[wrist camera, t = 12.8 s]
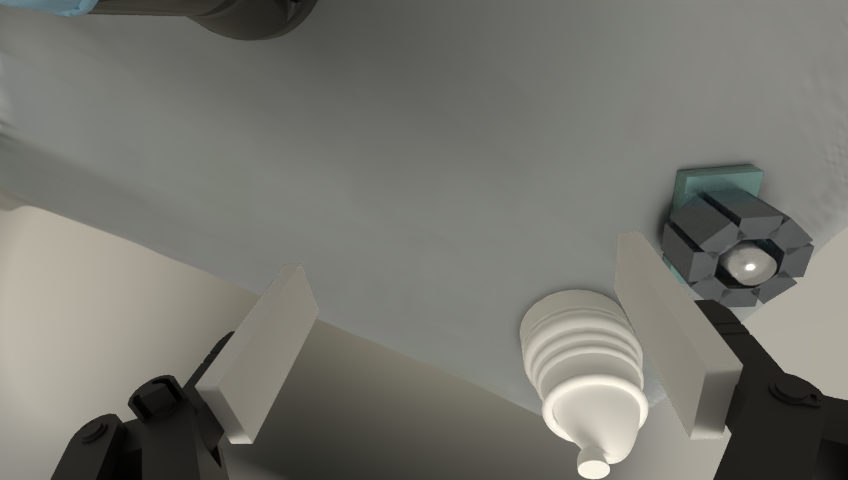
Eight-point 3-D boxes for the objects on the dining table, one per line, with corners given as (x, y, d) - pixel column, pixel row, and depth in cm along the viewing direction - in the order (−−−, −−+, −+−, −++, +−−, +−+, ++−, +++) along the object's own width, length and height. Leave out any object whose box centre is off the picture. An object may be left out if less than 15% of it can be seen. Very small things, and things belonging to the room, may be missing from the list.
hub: (669, 194, 38) (700, 221, 33) (776, 186, 37) (826, 213, 31) (656, 273, 42) (682, 308, 37) (751, 269, 41) (792, 305, 35)
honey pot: (508, 359, 53) (521, 500, 37) (535, 280, 47) (565, 409, 31) (604, 377, 52) (659, 528, 37) (645, 300, 46) (732, 443, 30)
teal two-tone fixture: (677, 170, 39) (729, 207, 31) (751, 164, 38) (823, 200, 30) (660, 273, 44) (700, 327, 36) (723, 271, 43) (779, 325, 35)
